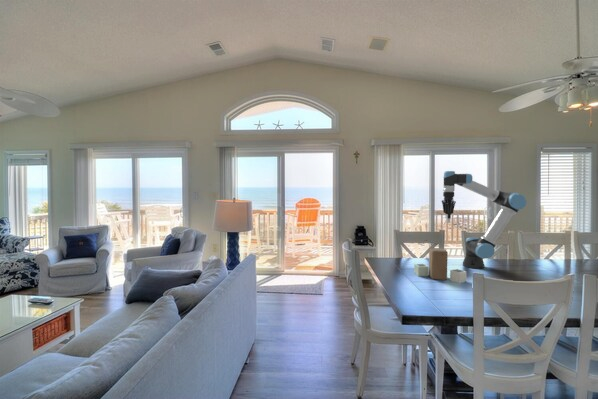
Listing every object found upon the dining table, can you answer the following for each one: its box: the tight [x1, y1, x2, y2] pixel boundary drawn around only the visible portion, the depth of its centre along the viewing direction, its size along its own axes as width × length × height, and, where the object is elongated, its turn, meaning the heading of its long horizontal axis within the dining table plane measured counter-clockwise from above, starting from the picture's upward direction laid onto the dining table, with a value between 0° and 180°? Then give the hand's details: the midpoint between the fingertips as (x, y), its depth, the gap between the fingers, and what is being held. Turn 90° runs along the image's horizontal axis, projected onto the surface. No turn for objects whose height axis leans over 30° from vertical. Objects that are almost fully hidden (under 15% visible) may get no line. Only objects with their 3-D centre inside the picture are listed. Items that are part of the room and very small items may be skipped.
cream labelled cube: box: [449, 268, 467, 284], centre depth 209 cm, size 7×7×7 cm
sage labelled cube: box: [413, 263, 429, 277], centre depth 223 cm, size 7×7×7 cm
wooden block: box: [428, 247, 449, 281], centre depth 215 cm, size 10×10×20 cm
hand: (447, 222), depth 234 cm, fingers closed
